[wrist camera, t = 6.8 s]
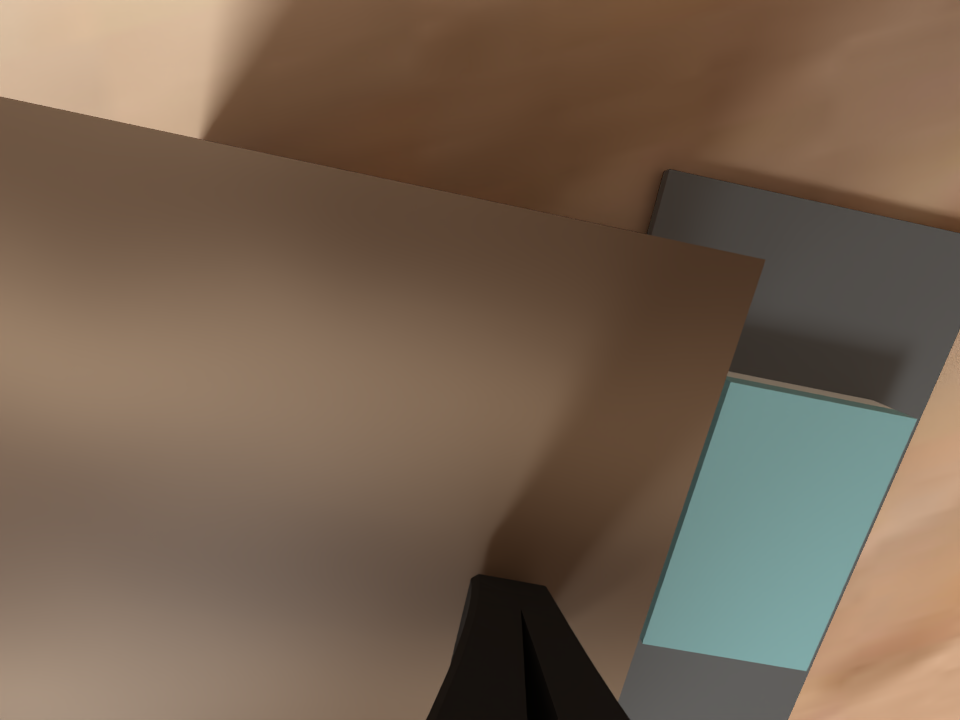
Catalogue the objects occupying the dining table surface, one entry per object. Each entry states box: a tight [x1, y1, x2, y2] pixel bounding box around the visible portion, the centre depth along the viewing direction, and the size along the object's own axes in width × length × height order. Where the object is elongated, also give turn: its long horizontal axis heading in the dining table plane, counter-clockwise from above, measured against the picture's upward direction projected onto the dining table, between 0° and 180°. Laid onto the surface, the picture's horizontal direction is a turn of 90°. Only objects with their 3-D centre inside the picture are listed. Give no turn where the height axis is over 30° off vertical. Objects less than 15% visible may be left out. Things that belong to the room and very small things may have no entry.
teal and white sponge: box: [640, 371, 917, 671], centre depth 14 cm, size 8×5×2 cm, turn 169°
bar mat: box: [618, 169, 960, 720], centre depth 15 cm, size 18×9×1 cm, turn 169°
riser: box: [0, 97, 765, 720], centre depth 12 cm, size 14×12×6 cm
